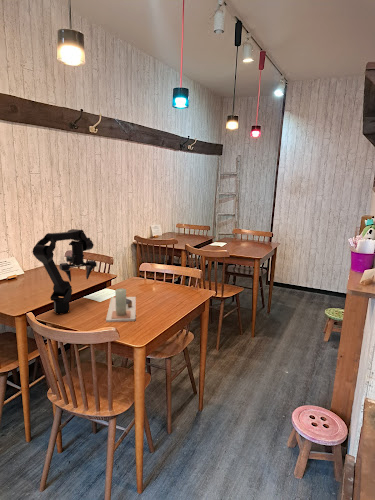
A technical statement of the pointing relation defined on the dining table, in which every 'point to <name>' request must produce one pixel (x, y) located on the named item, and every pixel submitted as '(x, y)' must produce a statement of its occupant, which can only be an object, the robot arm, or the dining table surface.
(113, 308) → the base board
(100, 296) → the dining table surface
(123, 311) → the grey upright cylinder
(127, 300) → the brown arch piece
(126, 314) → the mat
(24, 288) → the dining table surface
